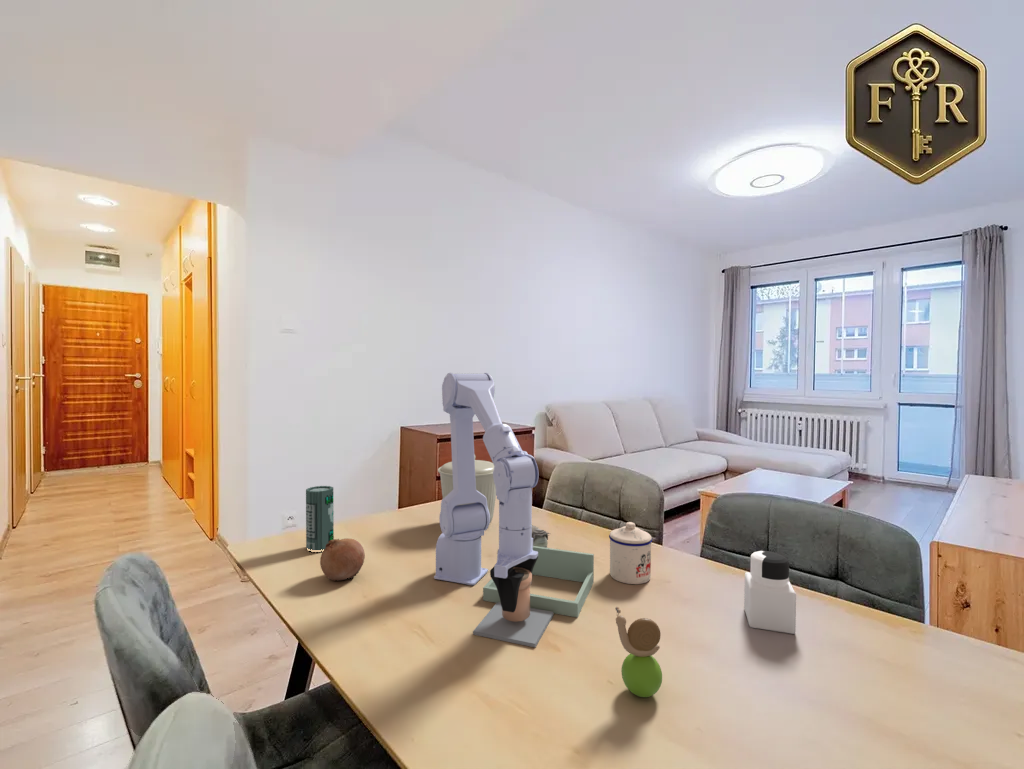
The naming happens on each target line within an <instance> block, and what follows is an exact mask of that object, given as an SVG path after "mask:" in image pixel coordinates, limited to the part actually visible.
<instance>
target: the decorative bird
mask: <svg viewBox="0 0 1024 769" xmlns="http://www.w3.org/2000/svg"><path fill="white" fill-rule="evenodd" d="M550 535H551V533H550V532H548V531H546V530H544V529H541V528H539V527H538V526H536V525H532V538H533V546H538V547H545V548H548V543H549V542H548V540H549V536H550Z"/></svg>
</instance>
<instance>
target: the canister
mask: <svg viewBox="0 0 1024 769" xmlns="http://www.w3.org/2000/svg"><path fill="white" fill-rule="evenodd" d="M476 457H477V456H476V454H475V453H474V458H475V480H476V490H477V491H479V492H480V493H482V494H483V495H484V496H485V497H486V499H487V505H488V509H489V513H490V524H491V523H492V521H493V517H494V513H495V507H496V499H497V496H496V487H495V483H494V479H493V471H494V464H493V462H492V461H487V460H481V459H476ZM437 472H438V473H439V475H440V486H441V496H442V499H443V498H444V497H446V496H447V495H448V494H449V493H450V492H451V491H452V490H453V472H452V461H448V462H446V463H444V464H443V465H442V466H440V467H438V468H437ZM467 504H472V503H467ZM460 505H464V504H460ZM456 506H457V505H456Z"/></svg>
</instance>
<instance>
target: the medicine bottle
mask: <svg viewBox="0 0 1024 769" xmlns="http://www.w3.org/2000/svg"><path fill="white" fill-rule="evenodd" d="M743 591H744V594H743V595H744V596H743V598H744V602H743V605H744V606H743V608H744V612H745V615H746V619H747V621H748V622H747V623H748V626H749V627H750V628H754V629H759V630H766V631H772V632H776V633H777V632H779V633H783V634H784V633H785V634H792V635H795V634H796V632H797V631H796V630H797V626H796V625H797V620H796V619H797V618H796V617H797V593H796V591H795V590H794V588H793V586H792V583H791V582H790V561H789V559H788V558H787V557H785V556H784V555H782V554H780V553H778V552H774V551H769V550H758V551H754V552H753V553H751V555H750V572H749V571H746V572H744V590H743Z"/></svg>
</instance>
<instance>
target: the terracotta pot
mask: <svg viewBox="0 0 1024 769" xmlns="http://www.w3.org/2000/svg"><path fill="white" fill-rule="evenodd" d="M514 569H515V572H520V573H525V574H524V576H523V578H522V580H521V583H520V587H519V591H518V598H517V605H516V609H515V611H514V612H508V611H503V609H502V616H503V617H504V618H505V619H506V620H509V621H514V622H518V621H523V620H525V619H527V618H528V617H529V616H530V594H531V586H532V584H533V574H532V573H531V572H530V571H529V570H527V569H524V568H519V567H514Z"/></svg>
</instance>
